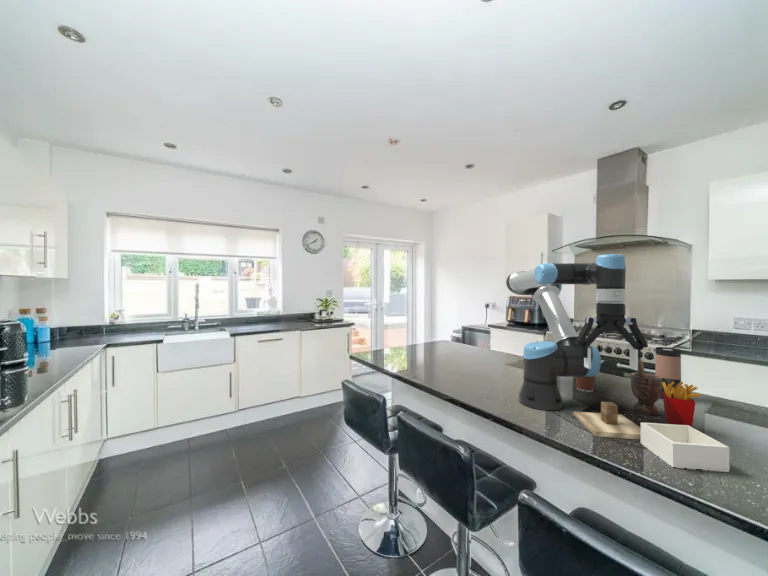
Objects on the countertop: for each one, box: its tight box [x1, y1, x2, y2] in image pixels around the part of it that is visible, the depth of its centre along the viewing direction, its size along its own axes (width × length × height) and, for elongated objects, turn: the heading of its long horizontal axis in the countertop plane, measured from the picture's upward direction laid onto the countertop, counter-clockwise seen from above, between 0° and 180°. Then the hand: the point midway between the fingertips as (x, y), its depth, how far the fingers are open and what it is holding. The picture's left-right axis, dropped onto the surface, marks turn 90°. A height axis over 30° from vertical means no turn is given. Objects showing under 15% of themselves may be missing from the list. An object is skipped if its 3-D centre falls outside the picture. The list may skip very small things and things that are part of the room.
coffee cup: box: [575, 375, 596, 393], centre depth 134 cm, size 9×9×12 cm
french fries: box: [662, 380, 701, 428], centre depth 96 cm, size 9×8×15 cm
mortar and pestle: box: [629, 358, 662, 416], centre depth 109 cm, size 12×9×20 cm
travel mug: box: [654, 346, 682, 400], centre depth 123 cm, size 8×8×20 cm
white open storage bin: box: [640, 422, 730, 473], centre depth 81 cm, size 12×12×6 cm
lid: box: [572, 401, 641, 441], centre depth 98 cm, size 15×15×8 cm
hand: (610, 368), depth 98 cm, fingers open, 13 cm apart
